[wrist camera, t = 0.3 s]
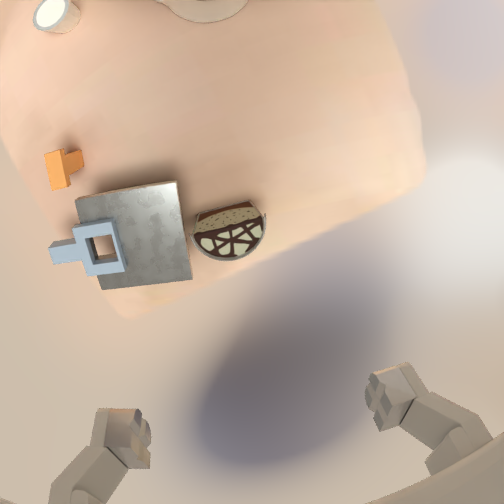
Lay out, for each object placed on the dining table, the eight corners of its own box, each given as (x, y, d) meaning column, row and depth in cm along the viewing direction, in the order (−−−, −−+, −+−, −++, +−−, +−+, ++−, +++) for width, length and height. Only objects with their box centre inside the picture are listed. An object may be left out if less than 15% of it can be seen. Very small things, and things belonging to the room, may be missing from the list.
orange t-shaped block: (65, 145, 45) (44, 154, 38) (79, 141, 45) (59, 150, 38) (71, 177, 48) (51, 190, 40) (85, 173, 48) (67, 187, 41)
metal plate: (95, 182, 49) (74, 200, 40) (181, 167, 51) (175, 182, 42) (115, 261, 57) (102, 290, 48) (194, 250, 58) (192, 279, 49)
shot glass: (84, 29, 36) (68, 21, 30) (50, 42, 35) (32, 37, 29) (83, -3, 33) (68, -13, 26) (50, 11, 32) (33, 3, 26)
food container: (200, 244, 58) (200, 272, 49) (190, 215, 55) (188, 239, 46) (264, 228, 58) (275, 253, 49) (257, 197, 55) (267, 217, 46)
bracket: (49, 226, 43) (41, 234, 40) (116, 214, 44) (111, 221, 41) (64, 270, 47) (58, 279, 44) (128, 262, 48) (124, 271, 45)
